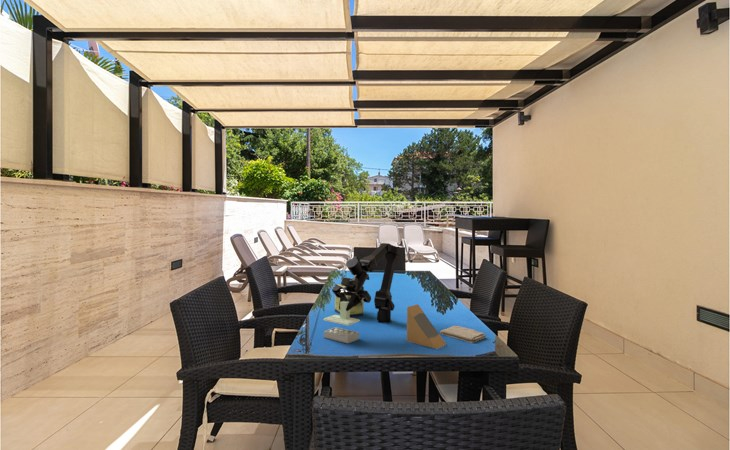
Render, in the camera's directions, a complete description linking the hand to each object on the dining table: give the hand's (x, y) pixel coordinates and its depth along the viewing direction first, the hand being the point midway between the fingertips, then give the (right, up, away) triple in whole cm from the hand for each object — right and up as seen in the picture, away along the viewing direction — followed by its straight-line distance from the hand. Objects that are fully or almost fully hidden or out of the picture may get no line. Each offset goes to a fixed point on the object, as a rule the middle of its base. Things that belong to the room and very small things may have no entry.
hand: (342, 309), depth 169 cm
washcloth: (+54, -14, +6) cm, 56 cm away
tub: (-1, -12, 0) cm, 12 cm away
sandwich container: (+36, -13, -4) cm, 39 cm away
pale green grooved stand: (-1, -5, -1) cm, 5 cm away
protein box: (+1, -12, +44) cm, 45 cm away
